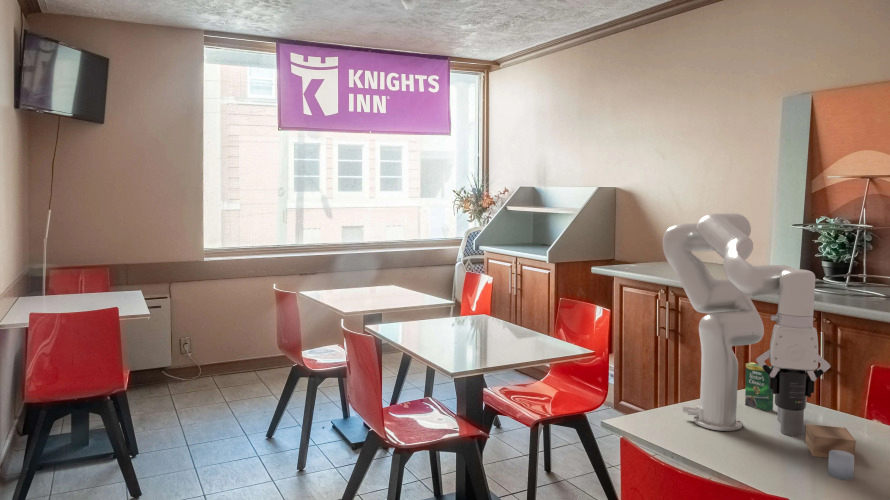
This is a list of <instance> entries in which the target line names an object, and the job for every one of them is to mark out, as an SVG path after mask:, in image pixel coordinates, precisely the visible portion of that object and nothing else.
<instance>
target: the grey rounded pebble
mask: <svg viewBox="0 0 890 500" xmlns="http://www.w3.org/2000/svg"><path fill="white" fill-rule="evenodd" d="M827 464H828V465H827V475H828V476H830V477H832V478H834V479H838V480H843V481H844V480H845V481H849V480H853V479H854V471H855V469H854V466H855V460H854V455H853V454H851V453H849V452H846V451H841V450H831V451H829V458H828V462H827Z"/></svg>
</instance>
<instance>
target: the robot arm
mask: <svg viewBox="0 0 890 500" xmlns="http://www.w3.org/2000/svg"><path fill="white" fill-rule="evenodd" d="M751 233H752V226H751V223H750V221H749V220H748V218H747V217H746V216H744V215H743V214H741V213H736V212H735V213H732V212H731V213H728V212H727V213H709V214H706V215H704V216H703V217H701V218H700V219H699V220H698V222H697V223H695V222H694V223H689V222H688V223H679V224H675V225H672V226H670V227H668V228H667V229H666V231H665V232H664V234H663V237H662V249H663V250H662V251H663V253H664V256H665V258H666V261H667V263H668V264H669V266H670V267H671V268H672V270H673V272H674V273H675V275H676V276H677V277H678V280H679V281H680V284H681V287H682V288H683V290H684V292H685V294H686V296H687V298H688V300H689V303H690V305H691V306H692V308H693V309H694V310H695V311H696V312H697V313H701V314H705V315H704V316H703V317H702V318H701V319H700V320H699V323H698V335H699V341H700V351H701V352H700V353H701V362H700V363H701V365H700V366H701V367H700V369H701V370H700V372H701V373H700V392H699V393H700V396H699V397H700V398H699V402H698V403H697V405H694V406H689V405H682V413H686V414H687V415H688V416H693V422H694V423H695V424H696V425H697V426H700V427H702V428H705V429H709V430H713V431H721V432H722V431H723V432H733V431H738V430H740V429H742V428H743V422H742V420H741V419H739V418H738V417H737V411H738V410H737V408H738V407H737V404H738V383H739V381H738V380H739V362H738V361H739V360H738V359H737V356H736V354H735V353H734V350H733V347H736V346H747V345H748V346H749V345H754V344H757V343H759V342H760V341H762V339H763V337H764V334H765V329H764V328H765V327H764V323H763V320H762V317H761V315H760V314H759V312H758V310H757V308H756V306H755V305H754V302H753V301H752V299H751V297H761V296H762V297H764V296H765V297H766V296H778V302H777V303H778V305H777V312H776V314H771V315H770V320H771V322H772V321H774V322H775V324H774V325H773V329H772V332H771V337H770V343H769V349H768V350H767V351H765V352H764V353H762V354H760V355H759V356H757V357H756V358H755V361H756V363H757V364H759V365H760V366H761V367H762V368H763V369H764V370H765V371H766V372H767V373H768V375H769V376H770V377H769V389H771V390H772V392H773V395H775V394H777V377H776V374H777V372H778V371H779V369H791V370H804V371H806V372H807V374H808V383H807V398H812V394H814V392H815V381H817V379H818V378H819V377H821V376H822V375H824V373H826V372H827V371H828V370H829V369H830V368H831V365H830V363H829V362H828V361H827V360H825V359H824V358H823V357H822V356H821V355H820V354H819V340H818V339H819V336H818V331H817V328H815V327H814V324H813V323H814V311H815V309H814V307H815V305H814V304H815V291H816V275H815V273H814V272H813V271H810V270H808V269H801V268H794V267H791V266H789V265H785V264H774V265H773V264H768V265H767V264H766V265H765V264H762V265H761V264H760V265H753V264H750V263H749V262H748V261H746V260H747V259H749V257H750V255H752V252H753V250H754V242H753V239H752V238H750V235H751ZM695 252H697V253H698V252H700V253H702V252H703V253H704V252H715V253H717V254H718V255H719V257H721V258H722V259H723V261H722V262H723V263H722V265H723V266H722V267H723V271H724V273H725V277H726V278H727V279H716V278H714V277H713V276H712V274H711V273H710V270H709V268H708V267H707V265H706V264H705V262H703V260H701V259H700V258H699V257H698V256H696V255H695V254H694V253H695ZM750 296H751V297H750ZM766 360H768V361H769V363H770V364H771V366H770V367H771V368H769V367H768V366H769V365H768V364H767V363H766V362H765V361H766ZM819 364H820V366H819Z"/></svg>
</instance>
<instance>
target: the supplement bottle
mask: <svg viewBox="0 0 890 500" xmlns="http://www.w3.org/2000/svg"><path fill="white" fill-rule="evenodd" d="M776 377H777V394H774V404H775V405H776V406H777V408H778V407H780V408H782V409H786V410H792V411H801V410H804V411H805V409H806V408H807V401H808V399H807V398H808V396H807V383H808V374H807V372H806V371H804V370H791V369H779V371H778V372H777V374H776Z"/></svg>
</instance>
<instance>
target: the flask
mask: <svg viewBox="0 0 890 500" xmlns="http://www.w3.org/2000/svg"><path fill="white" fill-rule="evenodd" d="M804 411H805V409H804V410H801V411H792V410H786V409H782V408H780V407H778V406H777V415H776V416H777V417H776V418H777V419H776V420H777V421H778V423H780V432H781V434H782V435H784V436H788V437H789V436H790V437H800V436H801V435H803V432H804V415H805V412H804Z"/></svg>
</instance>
